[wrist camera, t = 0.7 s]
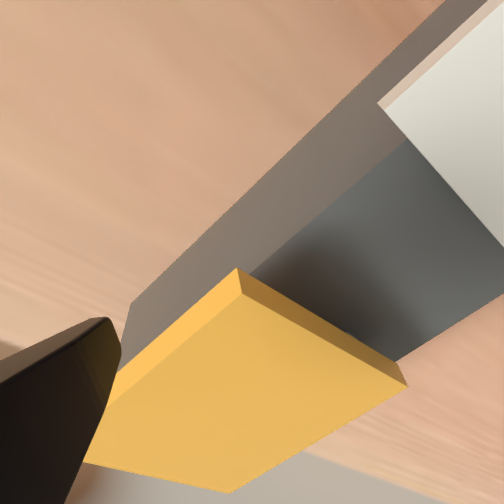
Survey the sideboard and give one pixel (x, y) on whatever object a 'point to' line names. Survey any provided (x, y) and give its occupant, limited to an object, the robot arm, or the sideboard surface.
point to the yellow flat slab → (237, 389)
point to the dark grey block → (348, 227)
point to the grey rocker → (461, 112)
